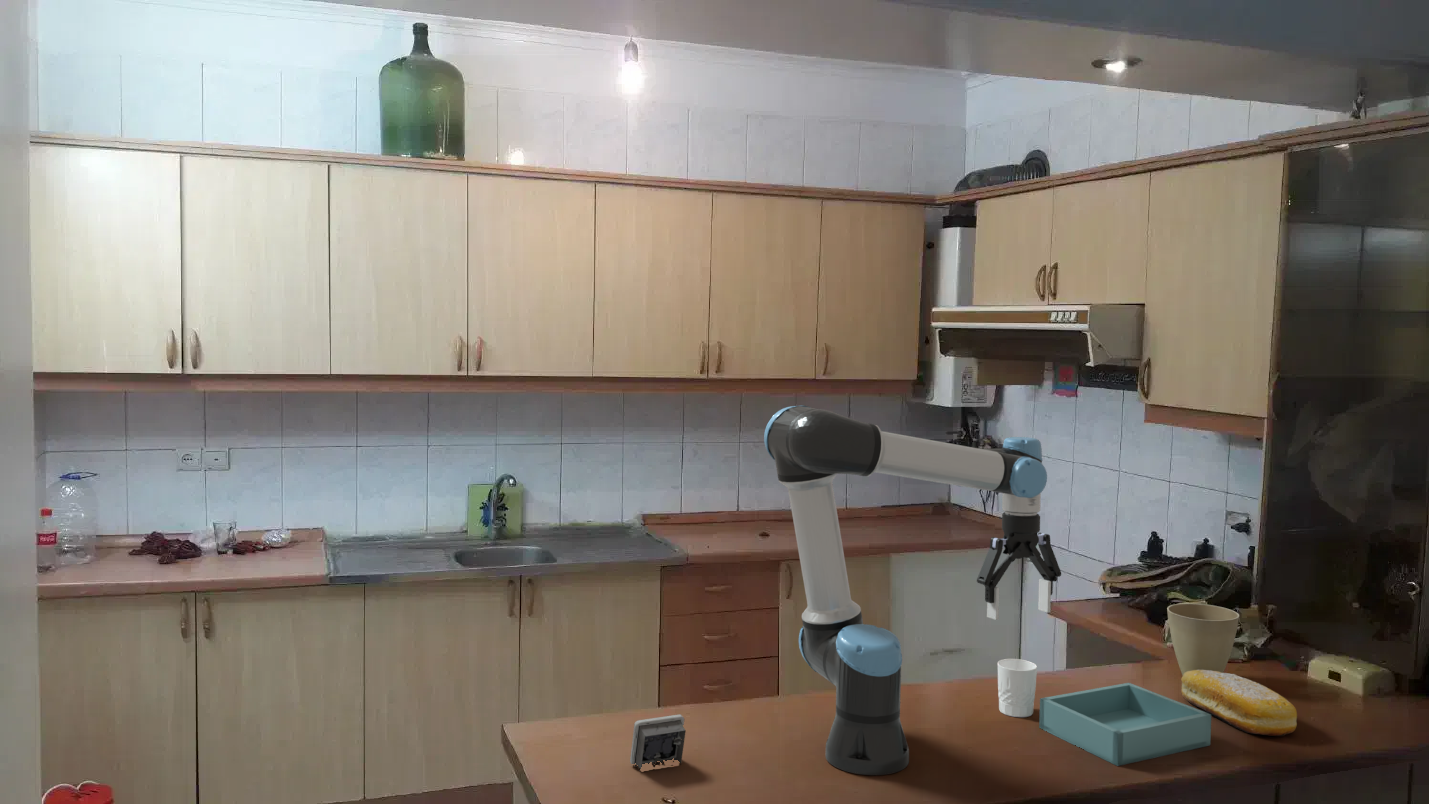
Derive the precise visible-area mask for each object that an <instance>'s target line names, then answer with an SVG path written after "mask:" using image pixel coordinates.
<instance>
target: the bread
mask: <svg viewBox="0 0 1429 804" xmlns="http://www.w3.org/2000/svg"><path fill="white" fill-rule="evenodd" d="M1180 681H1181V695H1182V697H1183V698H1184V700H1185V701H1187V702H1189V703H1190V704H1191V705H1193V706H1195V707H1197V708H1200V710H1202V711H1204V712H1206V713H1209V714H1211V716H1213V717H1215V718H1216V719H1218V720H1219V721H1221V722H1223V723H1225V724H1227V725H1230V726H1231V727H1234V728H1236V729H1238V730H1240V731H1242V732H1244V733H1246V734H1247V733H1248V734H1252V735H1263V736H1273V737H1274V736H1275V737H1276V736H1277V737H1283V736H1285V735H1288V734H1291V733H1294V732H1295V731H1296V729H1297V725H1298V723H1297V718H1298V713H1297V711H1298V710H1297V708H1296V707H1295V706H1294V705H1293V704H1292V702H1290V701H1289V700H1288V699H1287V698H1286V697H1284V696H1283V695H1281V694H1279V693H1278V692H1276V691H1275V690H1272V689H1271V688H1268V687H1267V686H1265V685H1263V684H1261V683H1259V682H1256V681H1254V680H1251V679H1249V678H1245V677H1242V676H1239V675H1237V674H1236V673H1227V672H1223V673H1221V672H1218V671H1211V670H1210V671H1209V670H1193V671H1188V672H1185V673H1184V675H1182V677H1180Z"/></svg>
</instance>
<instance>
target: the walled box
mask: <svg viewBox="0 0 1429 804" xmlns="http://www.w3.org/2000/svg"><path fill="white" fill-rule="evenodd" d="M1038 720H1039V723H1038V724H1039V725H1038V728H1039V729H1040V728H1041V729H1040V730H1042V729H1043V730H1042V731H1044V732H1046V731H1047V732H1046V733H1049V734H1051V735H1052V736H1055V737H1057V738H1059V739H1061V740H1063V741H1065V742H1067V743H1069V744H1071V745H1073V746H1075V745H1076V746H1075V747H1078V748H1079V747H1080V748H1079V749H1081V748H1082V750H1083V749H1084V751H1085V752H1088V753H1090V754H1092V755H1093V756H1095V757H1098V758H1100V759H1102V760H1104V761H1106V762H1108V763H1110V764H1113V765H1114V766H1117V767H1120V766H1124V765H1129V764H1133V763H1138V762H1141V761H1146V760H1150V759H1155V758H1161V757H1164V756H1168V755H1172V754H1173V755H1174V754H1178V753H1181V752H1186V751H1191V750H1196V749H1199V748H1205V747H1208V746H1211V735H1212V733H1211V732H1212V714H1210V713H1208V712H1206V711H1205V710H1202V709H1198V708H1195V707H1193V706H1191V705H1187V704H1186V703H1182V702H1180V701H1177V700H1175V699H1172V698H1170V697H1168V696H1165V695H1162V694H1159V693H1156V692H1154V691H1152V690H1150V689H1146V688H1143V687H1141V686H1139V685H1136V684H1133V683H1131V682H1124V683H1118V684H1114V685H1108V686H1107V685H1106V686H1104V687H1096V688H1091V689H1086V690H1080V691H1079V690H1078V691H1075V692H1069V693H1063V694H1057V695H1053V696H1045V697H1042V698H1039V719H1038Z"/></svg>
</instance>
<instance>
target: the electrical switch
mask: <svg viewBox="0 0 1429 804" xmlns="http://www.w3.org/2000/svg"><path fill="white" fill-rule="evenodd" d="M684 724H685V718H684V716H683V715H682V714H673V715H668V716H667V715H666V716H661V717H660V716H659V717H653V718H652V717H651V718H646V719H638V720H636V721H635V722H634V723H633V731H632V732H633V733H632V742H631V750H630V758H629V759H630V760H629V761H630V764H635V763H636V765H638V767H639V768H640V769H641V767H642V764H645V763H648V764H649V763H650V762H652V764H653V763H654V764H657V763H655V762H657V761H660V762H661V763H663V762H662V761H663V760H665V761H667V760H672V759H673V758H674V760H678V761H679V762H680V763H681V764H682V761H683V752H684V744H685V738H686V729H685V728H684ZM660 762H659V763H660ZM654 764H653V765H654ZM638 767H637V768H638ZM639 768H638V769H639Z"/></svg>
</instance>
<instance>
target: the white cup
mask: <svg viewBox="0 0 1429 804" xmlns="http://www.w3.org/2000/svg"><path fill="white" fill-rule="evenodd" d="M1037 673H1038V666H1037V664H1036V663H1034V662H1032V661H1029V660H1026V659H1020V658H1005V659H1000V660H998V661H997V689H998V693H997V695H998V696H997V697H998V710H999V711H1000V713H1002V714H1004V715H1005V716H1009V717H1013V718H1027V717H1031V716H1032V715H1033V714H1034V707H1035V705H1034V703H1035V698H1036V695H1035V694H1036V689H1037V675H1038V674H1037Z"/></svg>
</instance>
